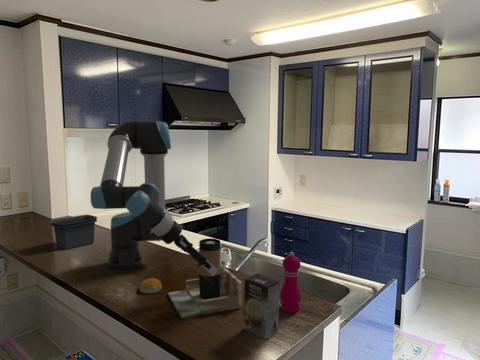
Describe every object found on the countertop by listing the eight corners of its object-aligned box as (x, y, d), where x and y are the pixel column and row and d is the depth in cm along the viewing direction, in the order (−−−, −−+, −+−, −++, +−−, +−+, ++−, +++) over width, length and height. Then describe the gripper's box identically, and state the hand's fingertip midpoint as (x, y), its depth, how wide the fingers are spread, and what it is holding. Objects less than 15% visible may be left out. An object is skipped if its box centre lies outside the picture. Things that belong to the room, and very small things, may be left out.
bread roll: (161, 284, 147) (161, 274, 147) (161, 293, 138) (161, 283, 138) (139, 285, 145) (139, 275, 145) (139, 295, 137) (138, 284, 136)
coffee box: (242, 329, 113) (243, 278, 111) (255, 321, 118) (256, 272, 116) (266, 340, 107) (267, 286, 105) (279, 331, 112) (280, 280, 110)
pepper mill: (275, 308, 127) (276, 251, 125) (288, 301, 132) (289, 247, 130) (292, 315, 122) (293, 256, 120) (305, 308, 127) (307, 252, 125)
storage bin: (61, 252, 184) (60, 224, 183) (47, 246, 194) (46, 219, 192) (100, 243, 201) (100, 217, 199) (85, 238, 210) (84, 213, 209)
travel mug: (224, 294, 134) (224, 240, 132) (212, 302, 128) (212, 245, 125) (207, 289, 138) (207, 237, 136) (194, 297, 131) (194, 242, 129)
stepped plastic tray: (167, 294, 137) (167, 271, 136) (220, 286, 145) (220, 263, 144) (182, 319, 119) (182, 292, 118) (241, 307, 127) (242, 282, 126)
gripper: (151, 228, 134) (191, 263, 142) (167, 247, 111) (214, 287, 119) (165, 212, 135) (204, 248, 143) (184, 228, 113) (229, 269, 121)
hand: (208, 266), depth 131 cm, fingers open, 13 cm apart
